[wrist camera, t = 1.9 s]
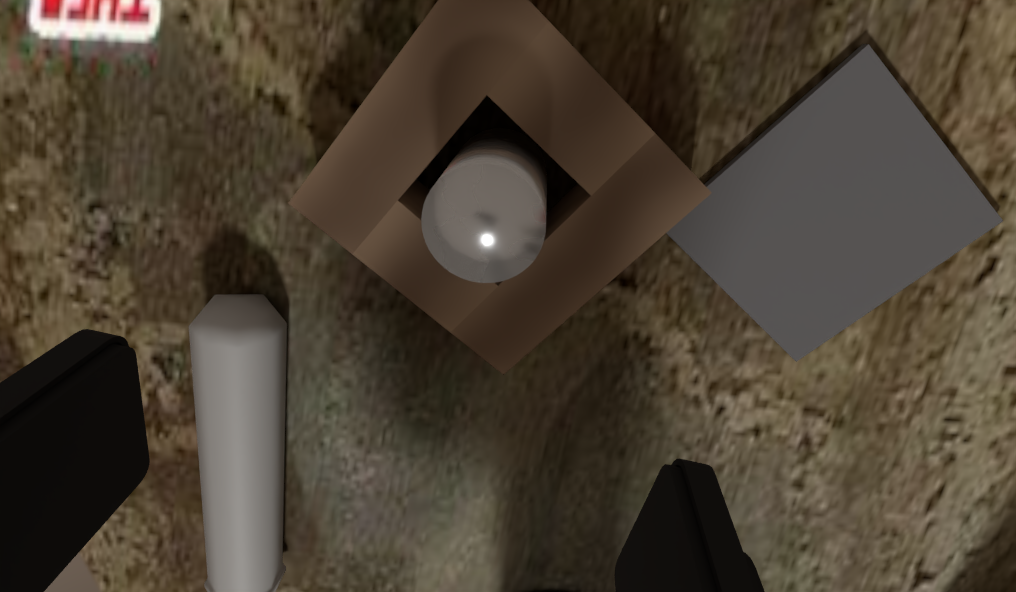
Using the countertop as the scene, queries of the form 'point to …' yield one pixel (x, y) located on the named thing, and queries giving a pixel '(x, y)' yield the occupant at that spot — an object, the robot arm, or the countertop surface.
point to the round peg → (488, 208)
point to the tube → (241, 439)
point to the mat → (834, 208)
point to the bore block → (548, 121)
